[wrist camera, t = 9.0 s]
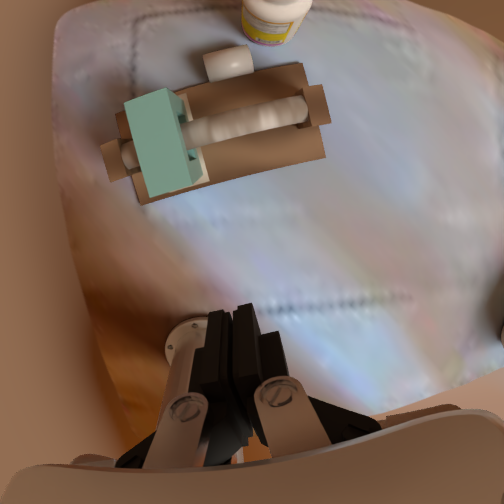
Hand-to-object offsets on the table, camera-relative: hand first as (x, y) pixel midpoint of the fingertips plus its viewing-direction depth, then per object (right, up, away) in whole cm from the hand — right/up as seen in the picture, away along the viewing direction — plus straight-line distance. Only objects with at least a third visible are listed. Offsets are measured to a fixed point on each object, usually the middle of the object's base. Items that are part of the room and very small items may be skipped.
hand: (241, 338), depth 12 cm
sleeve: (-3, +26, +19) cm, 32 cm away
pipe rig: (-3, +17, +22) cm, 29 cm away
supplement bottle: (+2, +31, +18) cm, 36 cm away
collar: (-8, +16, +21) cm, 28 cm away
